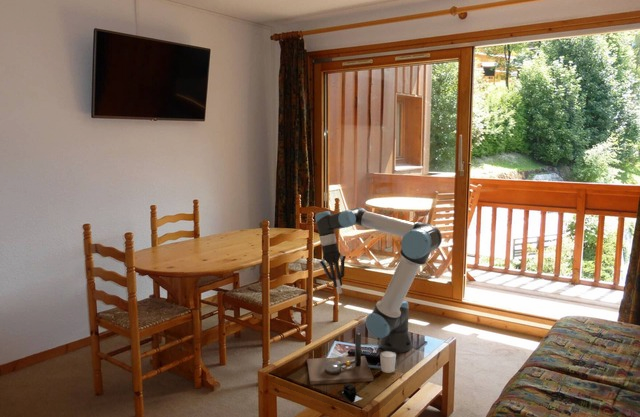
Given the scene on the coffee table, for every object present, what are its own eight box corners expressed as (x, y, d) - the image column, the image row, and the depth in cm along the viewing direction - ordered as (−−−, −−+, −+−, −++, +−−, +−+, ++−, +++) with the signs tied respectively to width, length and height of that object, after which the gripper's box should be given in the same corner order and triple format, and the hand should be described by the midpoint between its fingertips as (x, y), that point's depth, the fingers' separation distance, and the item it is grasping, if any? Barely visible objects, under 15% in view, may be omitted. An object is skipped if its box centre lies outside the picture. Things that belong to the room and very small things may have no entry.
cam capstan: (328, 375, 200) (328, 343, 198) (321, 368, 206) (321, 337, 204) (364, 367, 206) (364, 336, 204) (356, 360, 213) (356, 330, 211)
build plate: (333, 392, 192) (332, 381, 191) (347, 387, 196) (347, 376, 195) (352, 406, 181) (352, 394, 181) (367, 400, 185) (367, 389, 185)
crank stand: (364, 359, 219) (364, 355, 219) (373, 380, 199) (373, 376, 199) (307, 362, 217) (307, 358, 216) (310, 384, 197) (310, 380, 197)
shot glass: (376, 367, 211) (377, 352, 210) (390, 364, 213) (390, 349, 212) (385, 374, 204) (385, 359, 203) (399, 371, 207) (399, 356, 206)
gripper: (339, 241, 235) (350, 289, 234) (314, 247, 232) (324, 296, 231) (344, 240, 228) (355, 290, 227) (317, 246, 225) (328, 297, 224)
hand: (339, 293), depth 229 cm, fingers closed
